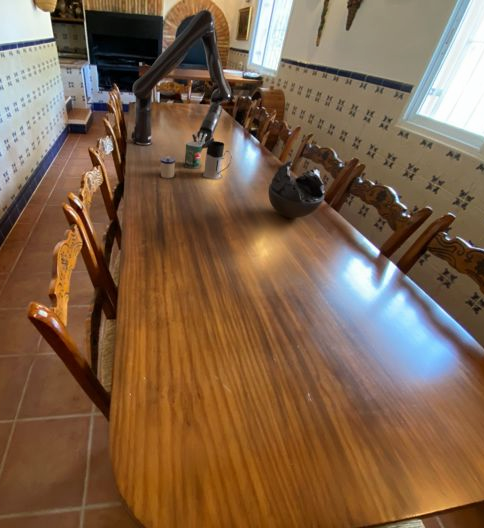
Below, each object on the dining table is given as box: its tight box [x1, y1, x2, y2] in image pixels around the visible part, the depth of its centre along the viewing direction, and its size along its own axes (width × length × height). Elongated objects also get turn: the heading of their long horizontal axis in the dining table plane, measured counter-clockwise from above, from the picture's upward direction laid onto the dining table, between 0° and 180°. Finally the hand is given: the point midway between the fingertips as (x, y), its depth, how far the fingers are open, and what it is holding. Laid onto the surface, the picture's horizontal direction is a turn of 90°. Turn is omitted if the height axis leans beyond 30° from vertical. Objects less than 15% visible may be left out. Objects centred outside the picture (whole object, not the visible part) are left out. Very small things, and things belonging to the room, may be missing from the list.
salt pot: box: [160, 155, 176, 179], centre depth 139 cm, size 7×7×9 cm
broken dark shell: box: [267, 161, 325, 219], centre depth 111 cm, size 20×20×19 cm
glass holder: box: [202, 140, 233, 180], centre depth 138 cm, size 9×14×15 cm, turn 44°
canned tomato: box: [184, 140, 202, 169], centre depth 150 cm, size 8×8×11 cm
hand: (197, 153), depth 153 cm, fingers closed
